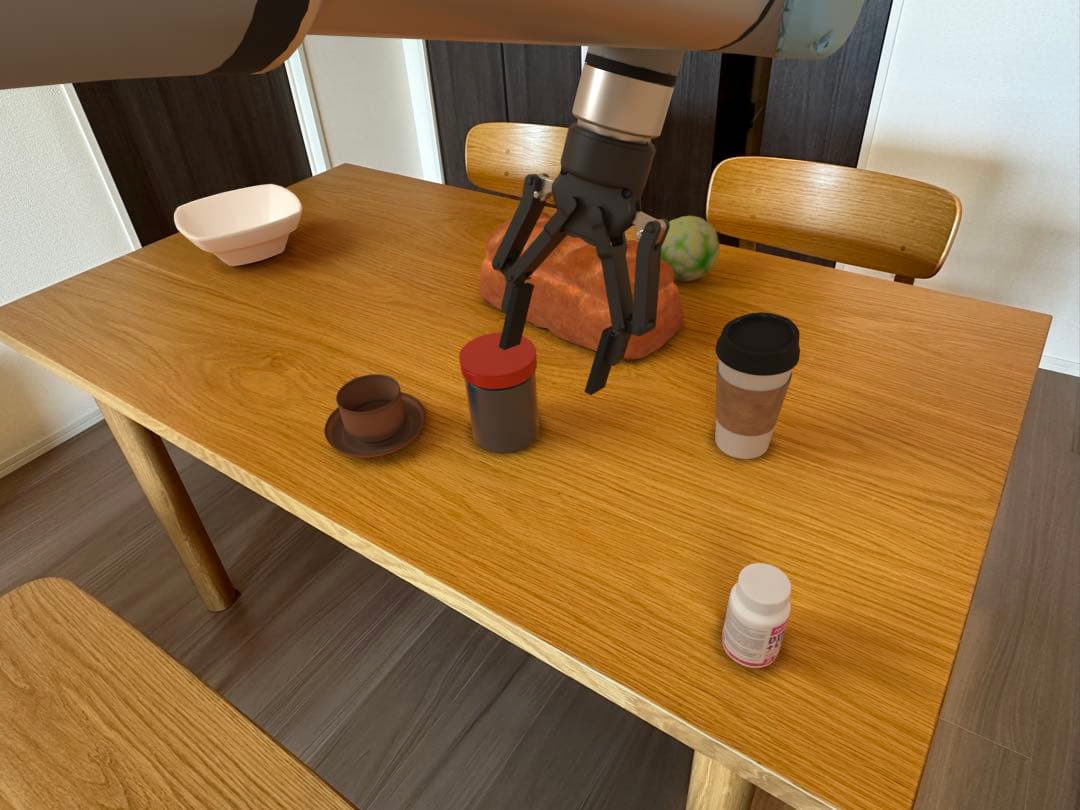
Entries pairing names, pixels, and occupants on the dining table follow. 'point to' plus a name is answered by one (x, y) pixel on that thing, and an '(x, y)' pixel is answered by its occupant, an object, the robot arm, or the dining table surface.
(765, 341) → the coffee cup
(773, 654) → the pill bottle
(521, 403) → the jar
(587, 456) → the dining table surface
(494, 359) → the jar lid
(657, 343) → the bread
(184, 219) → the bowl
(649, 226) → the robot arm
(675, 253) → the decorative ball
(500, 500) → the dining table surface
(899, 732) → the dining table surface
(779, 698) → the dining table surface
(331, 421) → the cup and saucer
